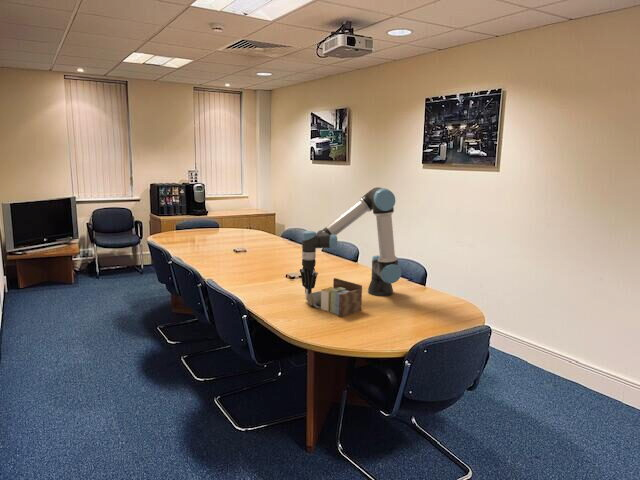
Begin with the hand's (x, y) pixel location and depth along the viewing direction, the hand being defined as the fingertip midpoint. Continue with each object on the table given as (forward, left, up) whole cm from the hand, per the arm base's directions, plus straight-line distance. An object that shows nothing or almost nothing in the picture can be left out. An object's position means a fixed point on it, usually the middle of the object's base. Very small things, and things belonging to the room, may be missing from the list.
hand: (308, 299), depth 268 cm
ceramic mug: (+1, +9, -2) cm, 9 cm away
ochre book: (0, +17, -1) cm, 17 cm away
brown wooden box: (-3, +20, -1) cm, 20 cm away
